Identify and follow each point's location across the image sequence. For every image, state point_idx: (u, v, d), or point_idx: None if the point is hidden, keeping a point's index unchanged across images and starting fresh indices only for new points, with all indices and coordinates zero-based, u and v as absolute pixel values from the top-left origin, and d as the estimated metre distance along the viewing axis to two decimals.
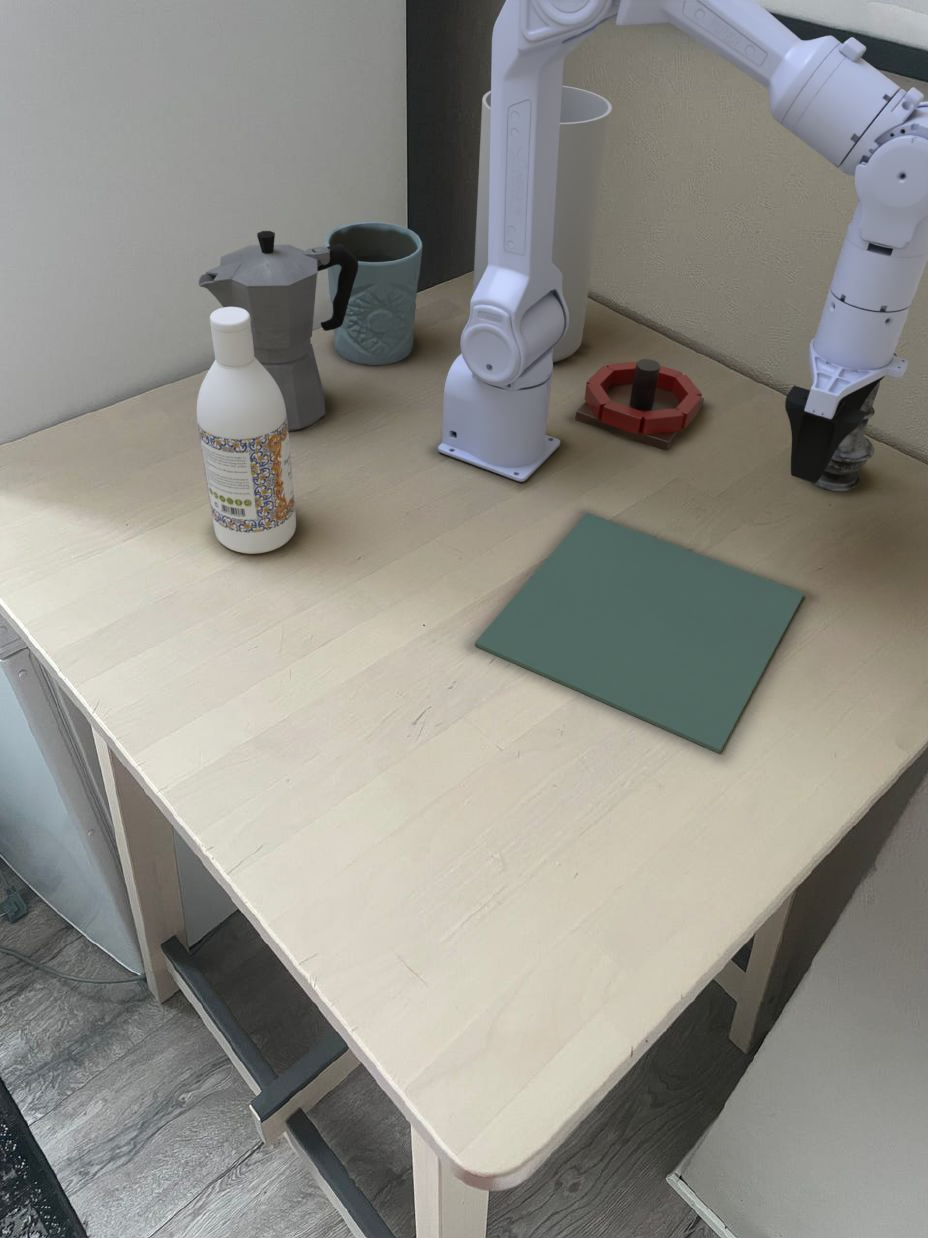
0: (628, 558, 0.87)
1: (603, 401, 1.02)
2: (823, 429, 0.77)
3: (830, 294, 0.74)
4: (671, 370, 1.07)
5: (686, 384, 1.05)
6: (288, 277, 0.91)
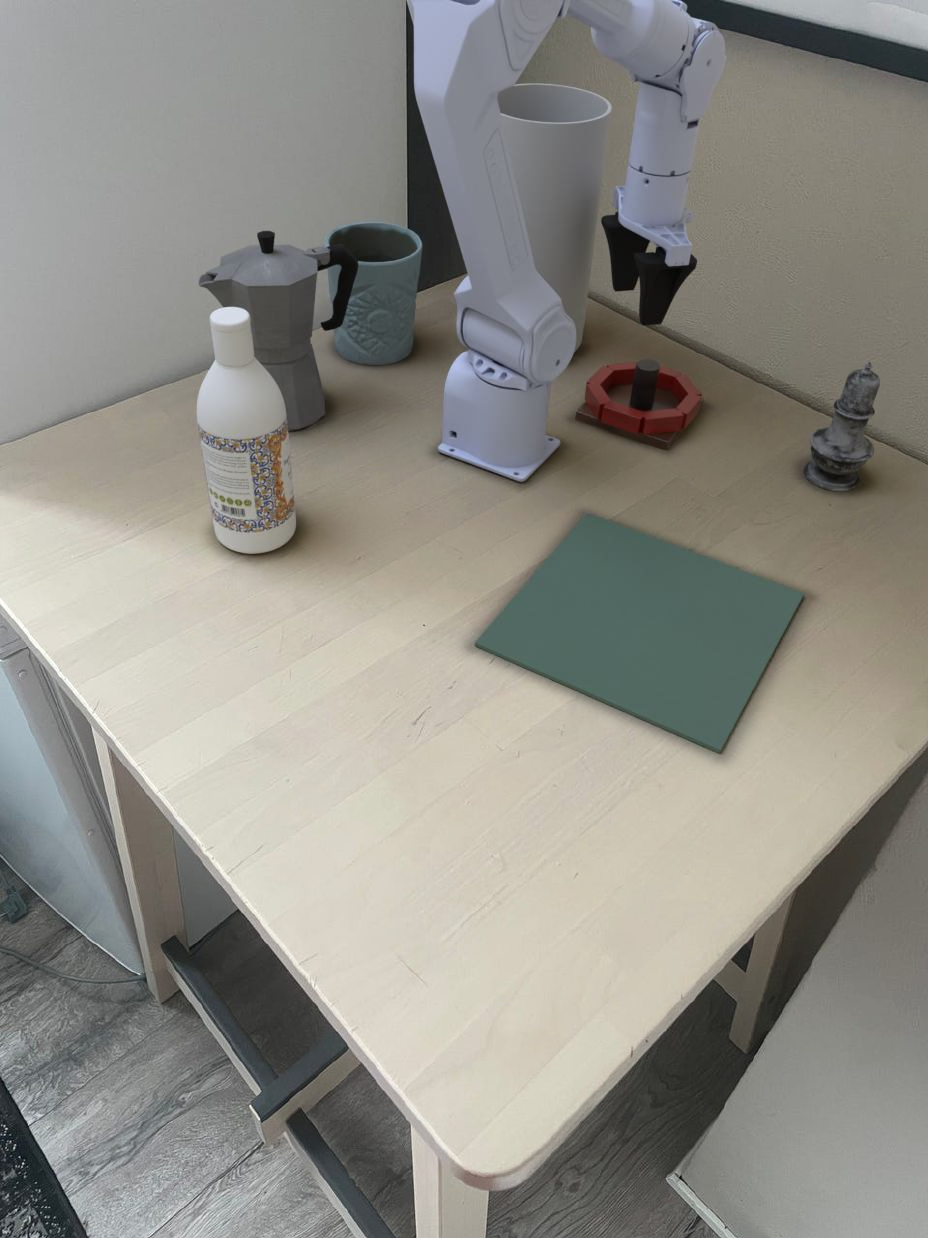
0: (628, 558, 0.87)
1: (603, 401, 1.02)
2: (664, 278, 0.96)
3: (639, 173, 0.92)
4: (671, 370, 1.07)
5: (686, 384, 1.05)
6: (288, 277, 0.91)
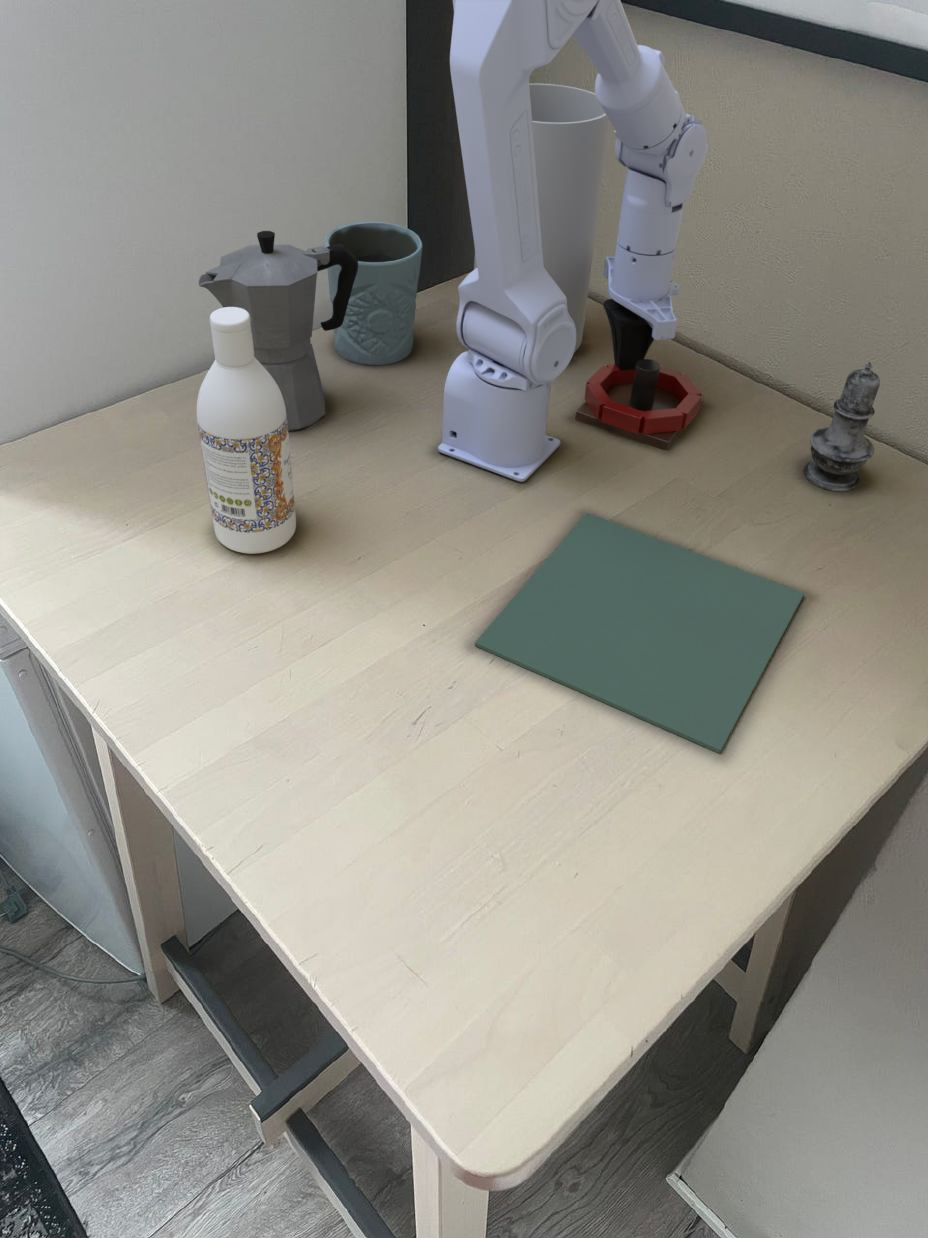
0: (628, 558, 0.87)
1: (603, 401, 1.02)
2: (639, 332, 1.04)
3: (627, 252, 0.97)
4: (671, 370, 1.07)
5: (686, 384, 1.05)
6: (288, 277, 0.91)
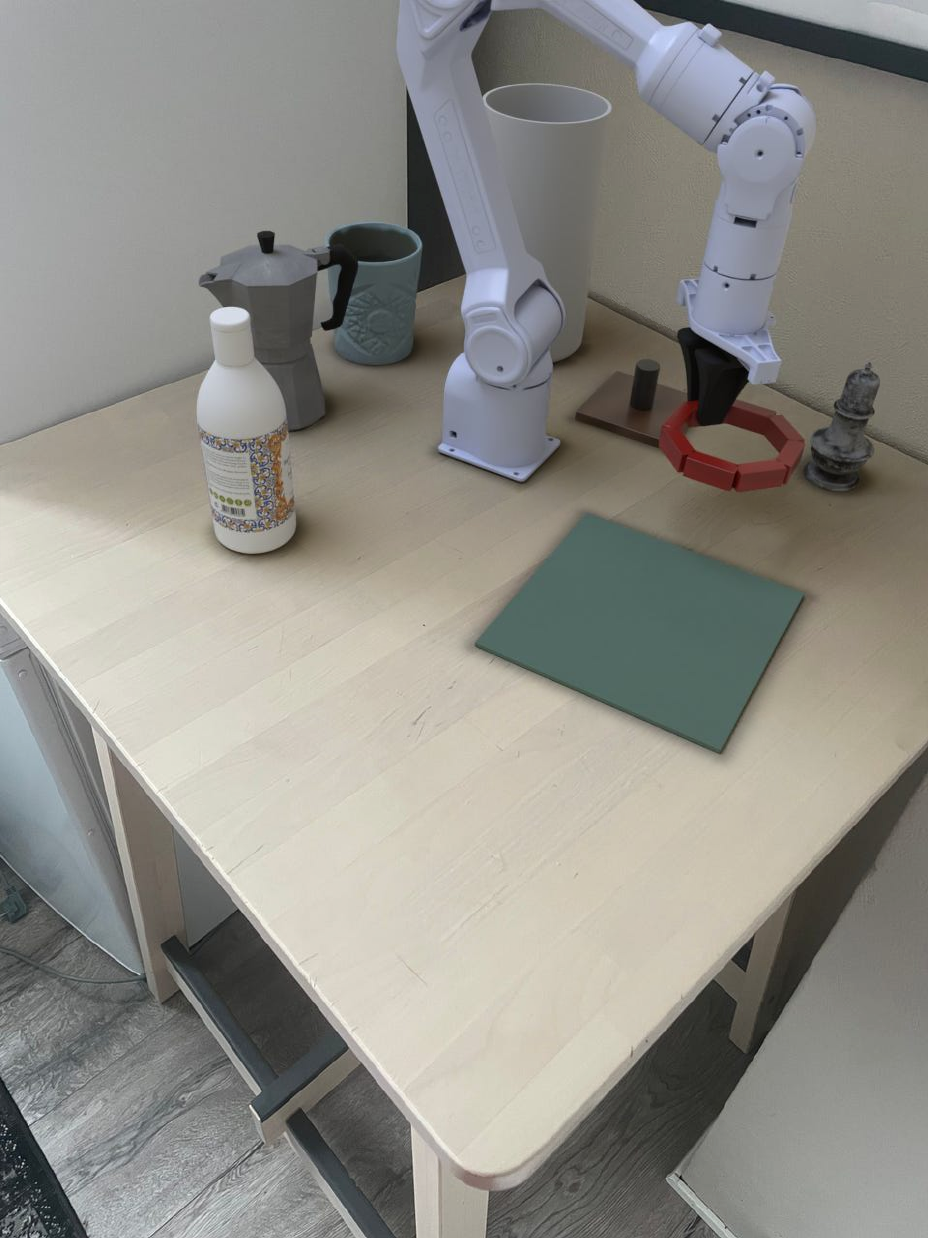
0: (628, 558, 0.87)
1: (685, 450, 0.82)
2: (727, 376, 0.84)
3: (718, 276, 0.78)
4: (763, 409, 0.87)
5: (784, 427, 0.85)
6: (288, 277, 0.91)
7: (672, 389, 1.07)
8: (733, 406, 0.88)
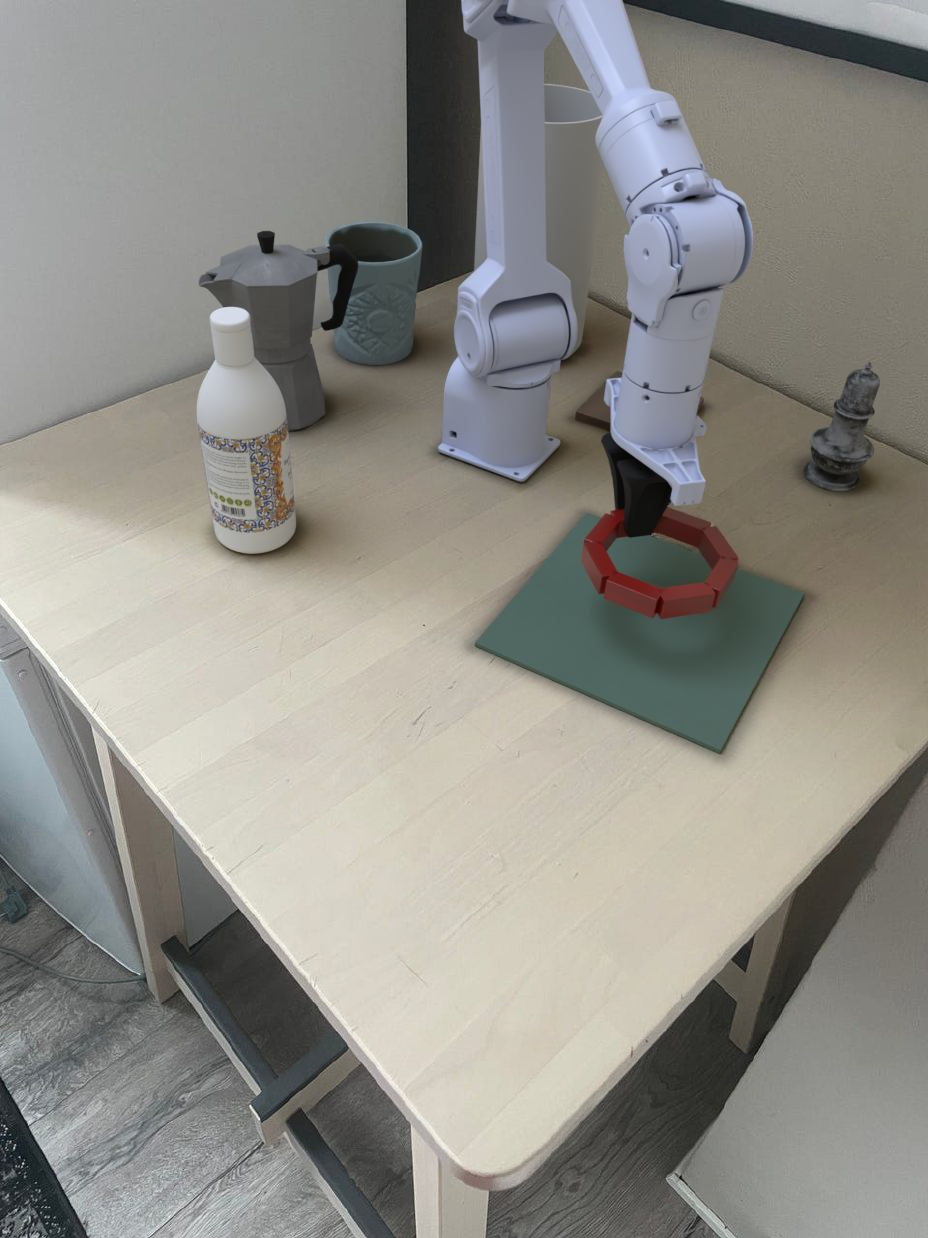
0: (628, 558, 0.87)
1: (606, 571, 0.75)
2: (654, 487, 0.78)
3: (637, 387, 0.71)
4: (696, 519, 0.80)
5: (717, 542, 0.78)
6: (288, 277, 0.91)
7: None
8: (664, 516, 0.81)
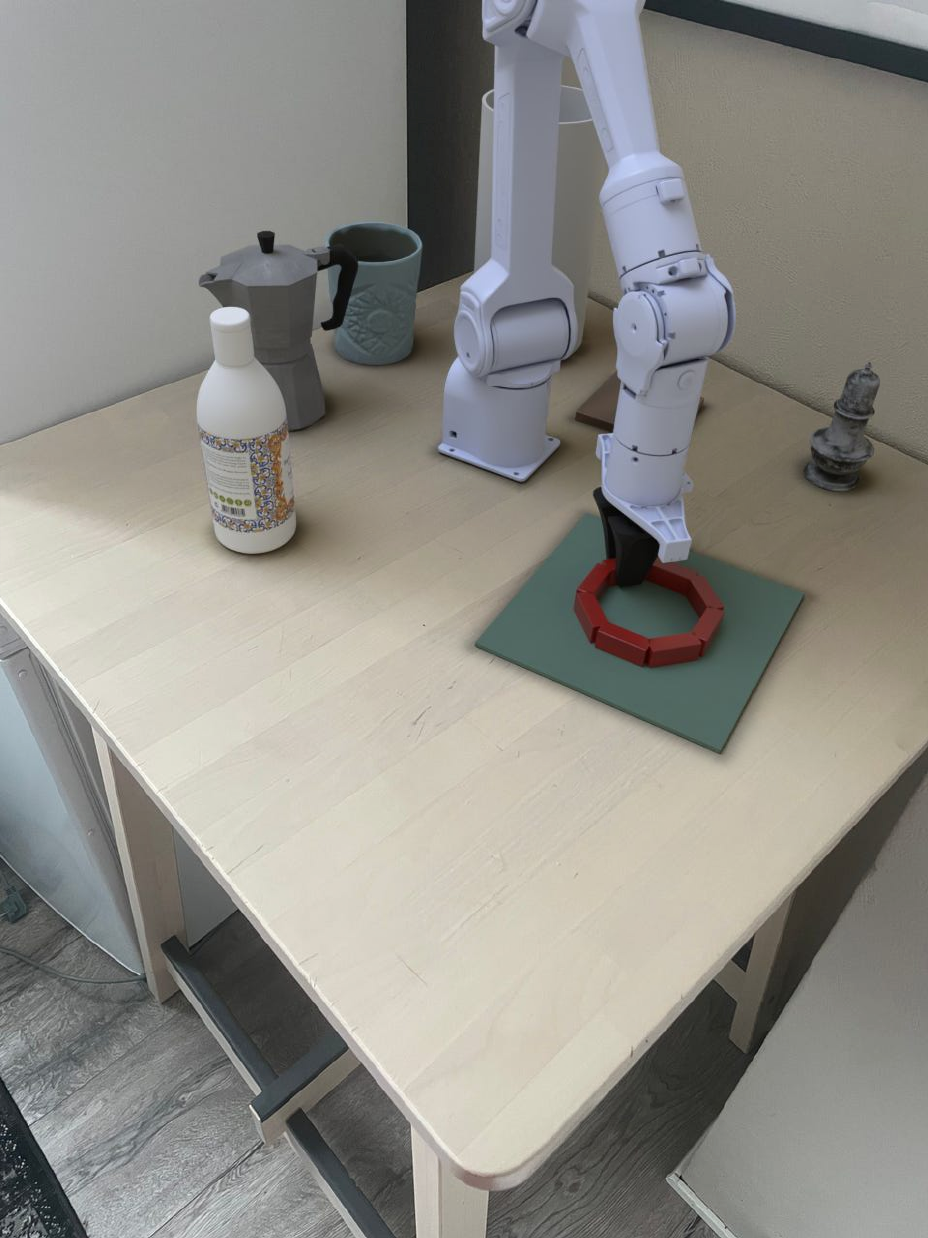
0: None
1: (597, 621, 0.79)
2: (644, 541, 0.81)
3: (626, 450, 0.75)
4: (684, 569, 0.84)
5: (704, 591, 0.82)
6: (288, 277, 0.91)
7: None
8: (653, 565, 0.84)
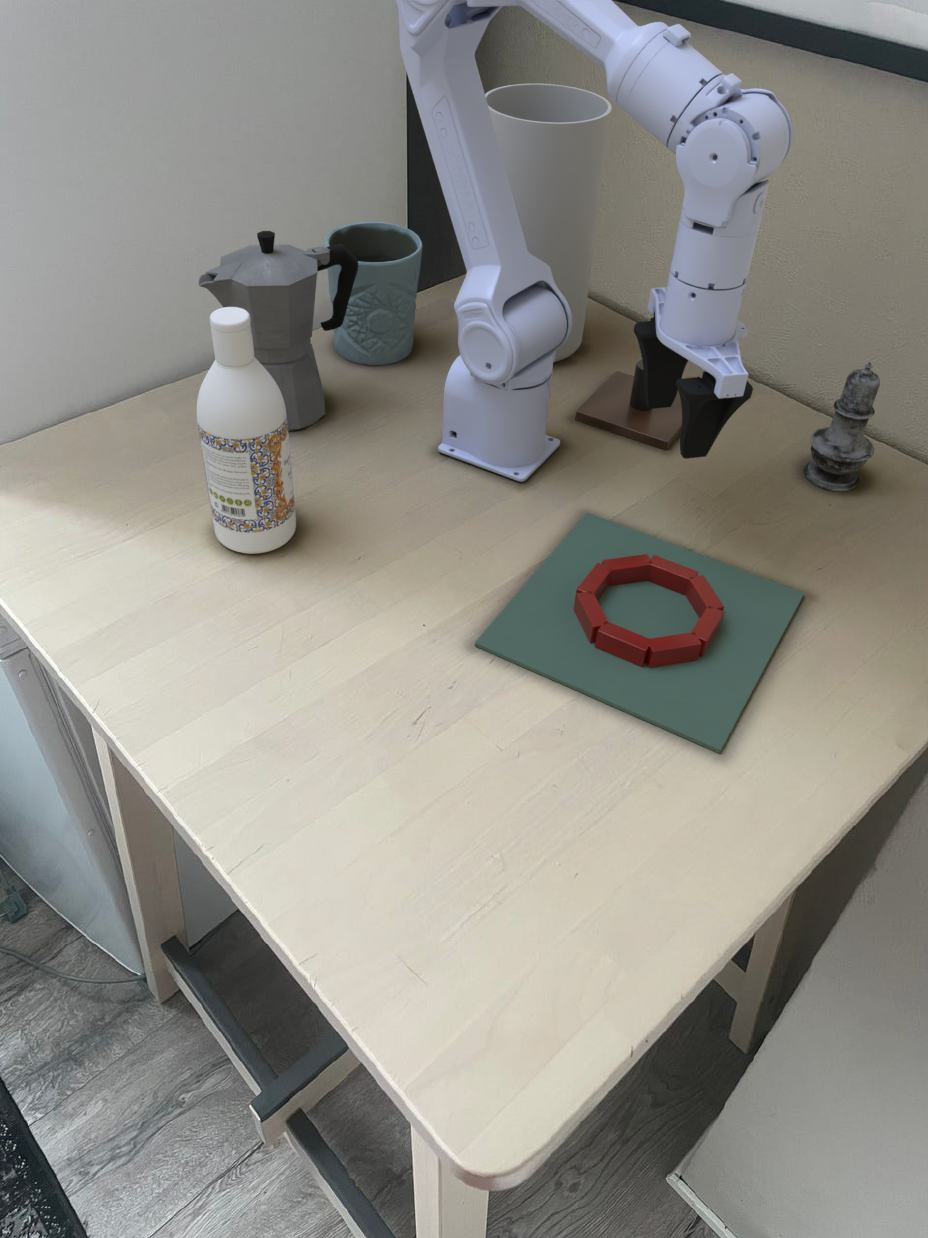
0: None
1: (597, 621, 0.79)
2: (711, 407, 0.80)
3: (684, 285, 0.75)
4: (684, 569, 0.84)
5: (704, 591, 0.82)
6: (288, 277, 0.91)
7: None
8: (653, 565, 0.84)
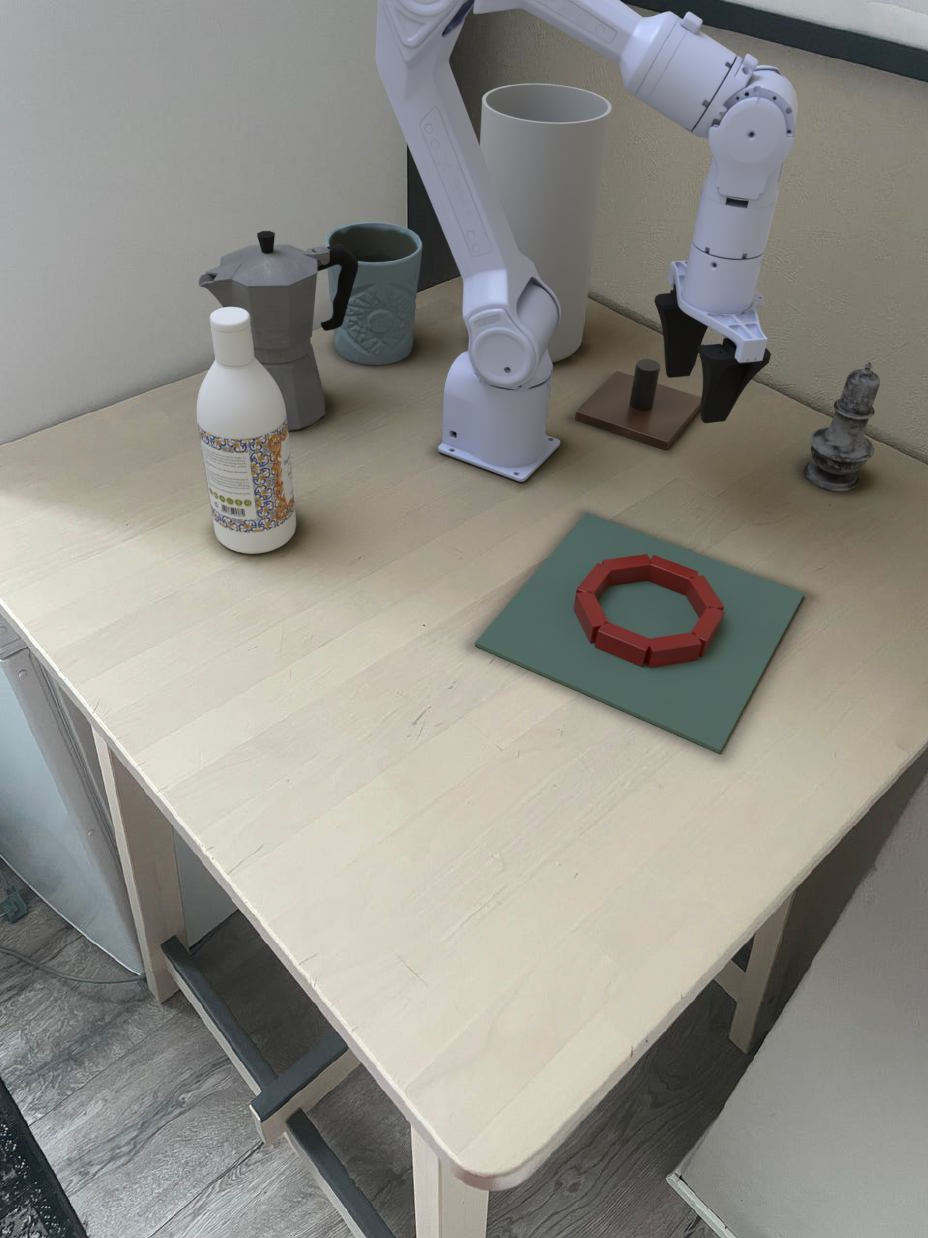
0: None
1: (597, 621, 0.79)
2: (731, 372, 0.84)
3: (706, 255, 0.79)
4: (684, 569, 0.84)
5: (704, 591, 0.82)
6: (288, 277, 0.91)
7: (672, 389, 1.07)
8: (653, 565, 0.84)
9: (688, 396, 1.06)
